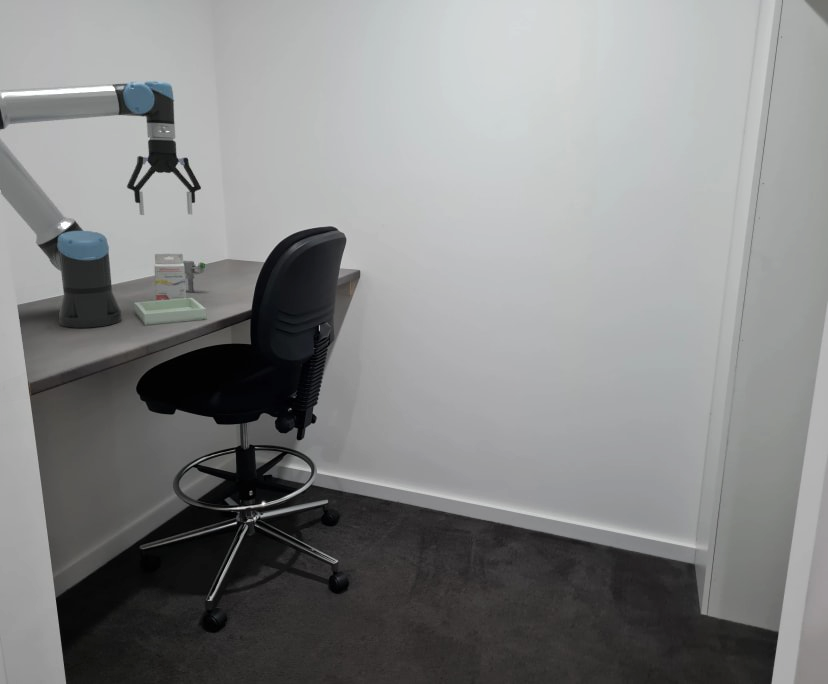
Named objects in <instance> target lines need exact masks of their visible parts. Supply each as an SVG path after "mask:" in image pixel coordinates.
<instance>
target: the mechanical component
mask: <svg viewBox="0 0 828 684" xmlns="http://www.w3.org/2000/svg"><path fill="white" fill-rule="evenodd" d="M183 264H184V271H185V276H186V277H185V279H187V286H188V293H193V292H195V291H194V289H195V288H194V279H195V275H200V274H203V273H204V272H205V267H206V263H205V262H201V261H200V262H199V263H198V264H197V266H196V263H195V261H194V260H192V261H191V260H183ZM195 270H198V271H195Z"/></svg>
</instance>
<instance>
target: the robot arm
mask: <svg viewBox="0 0 828 684" xmlns="http://www.w3.org/2000/svg"><path fill="white" fill-rule="evenodd" d="M174 101H175V100H174V91H173V87H172V84H170V83H169V82H165V81H155V80H154V81H153V80H152V81H151V80H149V81H145V82H144V83H142V82H137V81H131V82H129V83H127V82H126V83H114V84H93V85H91V84H89V85H75V86H72V85H71V86H57V87H56V86H55V87H37V88H35V87H34V88H20V89H19V88H18V89H0V130H6V128H8V126H9V125H16V124H26V123H27V124H29V123H40V122H52V121H53V122H54V121H60V120H61V121H62V120H63V121H65V120H75V119H76V120H77V119H87V118H101V117H102V118H103V117H112V116H113V117H114V116H128V117H129V116H131V117H145V119H146V130H147V131H146V132H147V133H146V134H147V138H149V139H148V141H147V147H148V148H147V149H148V156H146V157H145V156H141V155H138V156H137V157H136V164H135V167H134V170H133V172H132V174H131V176H130V179H129V181H128V183H127V185H126V188H127V189H128V190H131V191H133V195H134V202H135V203H136V204H138V208H139V215H141V216H145V209H144V194H143V191H141V189H143V187H144V186H145V185H146V183H147V182H148V181H149V180H150V178H151V177H152V176H153V175H154V174H155V173H158V174H162V173H166V174H170V173H173V174H174V175H175V176H176V178H178V180H179V181H180V183H182V184H183V185H184V187H186V189H187V190H188V191H186V203H187V204H186V206H187V207H186V208H187V214H188V215H192V216H193V204H196V203H195V202H196V194H195V193H196V192H197V191H200V190H201V189H202V186H201V185H200V182H199V181H198V179H197V177H196V175H195V174H194V172H193V170H192V168H191V166H190V164H189V159H188V157H181V158H178V155H177V143H176V141H175V139H176V126H175V106H174V105H175V104H174ZM146 162H147V164H149V165H150V167H149V169H147V171H146V172H145V174H144V175H143V177H141V179H140V180H139V181H138V182H137V184H136V181H137V179H138V176H139V175H140V173H141V171H142V168H143V165H145V164H146ZM179 163H180V165H181V166H183V169H184V170H185V172H186V174H187V176H188V178H189V179H190V181H191V183H190V182H189V181H188V180H187V178H186V177H185V176H184V175H183V174H182V172H180V170H178V168H177V165H179ZM135 184H136V185H135ZM0 190H1V193H0V195H1V196H2V197H4V199H5V200H6V201H7V202H8V203H9V205H10V206H11V207H12V208H13V209H14V211H15V212H16V213H17V214H18V215H19V216H20V218H21V219H22V220H23V221H24V222H25V223H26V224H27V226H28V227H29V228H30V230H32V231H33V233H35V235H36V238H35V239H36V240H35V244H36V245H37V246H38V247H39V248H40V250H41V252H43V253H44V254H45V255H46V256H47V258H48V259H49V262H50V263H51V265H53V267H54V268H56V270H59V271H60V272H61V273H60V274H61V281H62V288H63V289H62V290H63V297H62V301H61V304H60V309H59V314H58V319H59V325H60V326H62V327H66V328H77V329H78V328H79V329H80V328H81V329H82V328H87V329H88V328H98V327H105V326H110V325H114V324H117V323H119V322H121V321H122V319H123V318H122V317H123V316H122V310H121V308H120V306H119V304H118V301H117V299H116V297H115V295H114V293H113V285H112V276H111V275H112V274H111V263H110V255H109V251H110V249H109V248H110V246H109V244H108V238H107V237H106V236H105V235H104V234H102V233H101V232H97V231H96V232H95V231H90V230H84V229H82V227H81V226H80V225H79V223H78V222H77V221H76V220H75V219H74V218H70V217H66V216H65V215H64V214H63V213H62V212H61V210H59V207H57V205H55V203H54V202H53V200H51V198H50V197H49V196H48V195H47V193H46V192H45V190H43V189H42V187H41V186H40V185H39V183H38V182H37V181H36V180H35V179H34V178H33V177H32V175H31V174H30V173H29V171H28V170H27V169H26V168H25V167H24V165H23V164H22V163H21V161H20V160H19V159H18V158H17V157H16V156H15V154H14V153H13V152H12V151H11V149H10V148H9V147H8V146H7V145H6V143H5V142H4V141H3V140H2V138H0Z"/></svg>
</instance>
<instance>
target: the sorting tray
mask: <svg viewBox="0 0 828 684" xmlns="http://www.w3.org/2000/svg"><path fill="white" fill-rule="evenodd" d="M134 311H135V314H136V315H137V317H138V318H139V319H140V321H142V323H143V325H145V326H150V325H160V324H161V325H162V324H171V323H182V322H191V321H192V322H193V321H201V320H203V319H204V320H207V308H206V307H204V306H203V305H202V304H201V303H200V302H198V301H197V300H195V298H194V297H186V298H183V299H171V300H158V301H157V300H149V301H138V302H137V301H136V302H134Z"/></svg>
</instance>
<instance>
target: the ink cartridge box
mask: <svg viewBox="0 0 828 684" xmlns="http://www.w3.org/2000/svg"><path fill="white" fill-rule="evenodd" d="M169 257H170V258H171V259H170V258H169ZM167 258H169V259H167ZM172 258H173V259H172ZM154 261H155V262H154V263H155V264H154V283H155V284H154V286H155V298H156V299H155V301H158V300H171V299H183V298H187V294H186V291H187V290H186V277H185V276H186V274H185V271H184V264H183V261H184V255H183V253H155V254H154Z"/></svg>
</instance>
